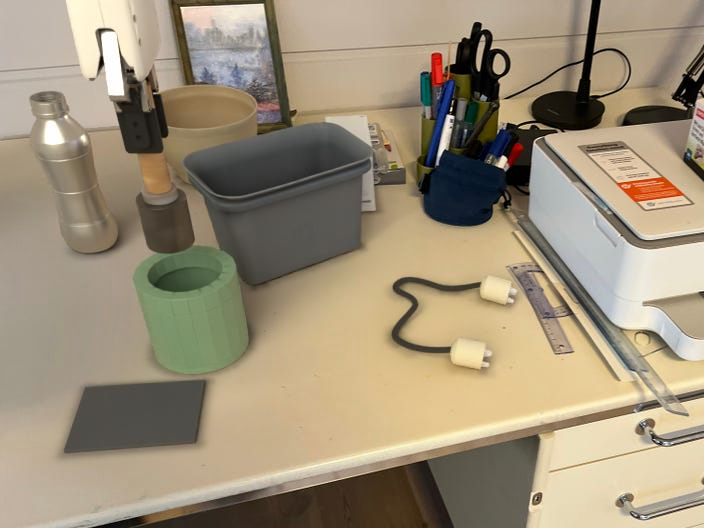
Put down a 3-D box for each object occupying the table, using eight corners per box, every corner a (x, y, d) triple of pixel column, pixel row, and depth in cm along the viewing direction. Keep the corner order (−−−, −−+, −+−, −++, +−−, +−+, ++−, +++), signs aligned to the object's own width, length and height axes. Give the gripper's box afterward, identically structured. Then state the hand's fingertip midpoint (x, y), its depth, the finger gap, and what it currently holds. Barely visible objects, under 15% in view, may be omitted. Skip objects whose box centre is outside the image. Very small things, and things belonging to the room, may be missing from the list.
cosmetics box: (328, 179, 117) (323, 114, 110) (370, 178, 118) (368, 113, 111) (331, 213, 109) (326, 145, 102) (376, 211, 110) (374, 144, 103)
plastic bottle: (111, 260, 97) (65, 109, 84) (58, 258, 97) (3, 106, 84) (129, 234, 102) (87, 87, 89) (78, 232, 101) (29, 84, 88)
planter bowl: (179, 209, 107) (163, 137, 100) (142, 164, 117) (125, 95, 110) (283, 183, 115) (275, 114, 108) (241, 143, 125) (231, 77, 118)
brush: (143, 254, 74) (101, 94, 63) (150, 230, 77) (112, 74, 67) (192, 253, 75) (159, 94, 64) (197, 229, 78) (166, 74, 68)
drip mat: (64, 453, 72) (63, 450, 72) (86, 389, 79) (84, 387, 78) (195, 443, 74) (194, 440, 74) (205, 382, 81) (204, 379, 80)
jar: (147, 377, 81) (124, 302, 74) (162, 319, 88) (142, 246, 82) (245, 371, 82) (231, 297, 76) (251, 315, 90) (239, 243, 83)
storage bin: (239, 306, 91) (220, 200, 82) (187, 249, 100) (164, 147, 91) (386, 253, 102) (384, 154, 93) (328, 205, 111) (320, 111, 101)
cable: (357, 352, 86) (355, 328, 84) (401, 276, 98) (400, 253, 96) (489, 379, 84) (491, 355, 81) (517, 298, 96) (520, 275, 94)
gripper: (68, -106, 63) (121, 109, 74) (11, -61, 51) (85, 187, 63) (163, -102, 64) (200, 109, 76) (129, -56, 52) (179, 185, 64)
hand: (148, 142), depth 69 cm, fingers closed on brush, 2 cm apart
